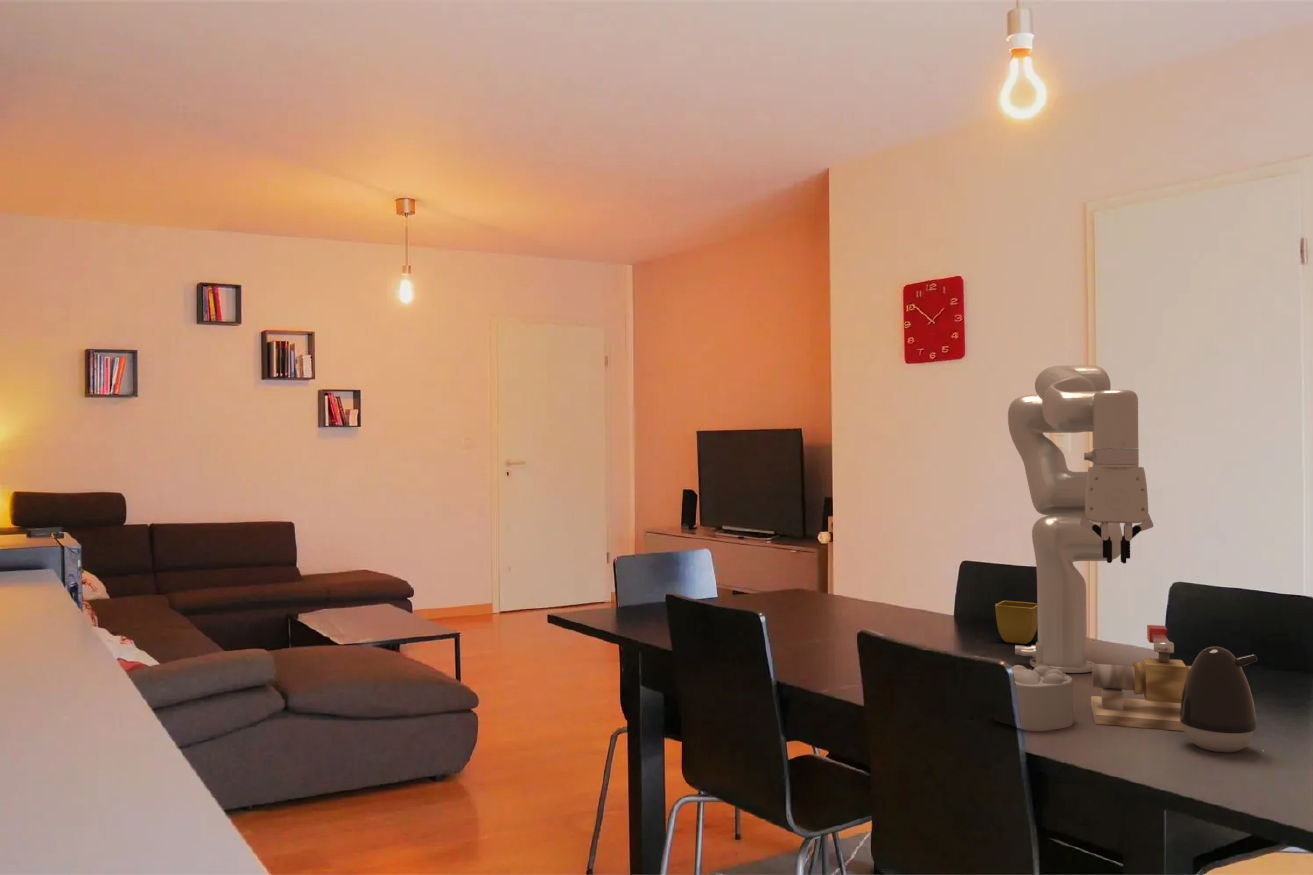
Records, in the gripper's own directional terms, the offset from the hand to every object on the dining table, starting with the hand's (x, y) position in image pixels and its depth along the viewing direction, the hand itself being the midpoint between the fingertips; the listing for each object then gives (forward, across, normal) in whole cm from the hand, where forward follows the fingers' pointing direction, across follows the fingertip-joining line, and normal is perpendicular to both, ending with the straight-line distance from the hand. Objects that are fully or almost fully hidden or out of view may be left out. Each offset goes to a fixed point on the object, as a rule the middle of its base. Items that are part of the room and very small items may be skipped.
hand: (1116, 561), depth 184 cm
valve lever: (+14, +6, -4) cm, 16 cm away
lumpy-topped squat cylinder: (+25, -14, -18) cm, 34 cm away
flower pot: (+25, -18, +58) cm, 65 cm away
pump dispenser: (+25, +12, -25) cm, 38 cm away
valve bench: (+25, +6, -10) cm, 28 cm away
